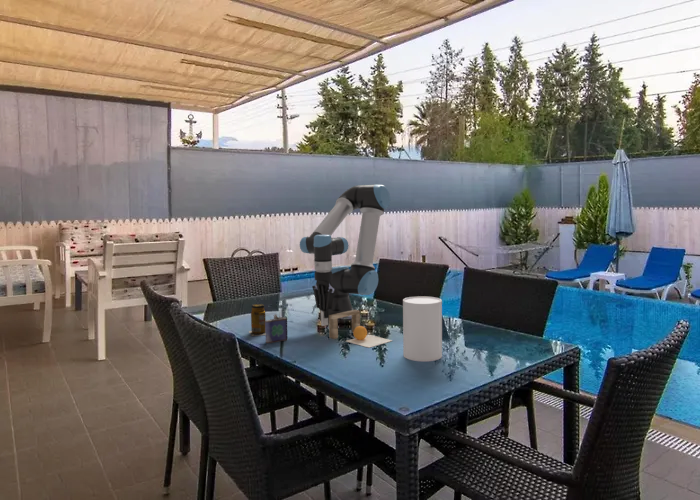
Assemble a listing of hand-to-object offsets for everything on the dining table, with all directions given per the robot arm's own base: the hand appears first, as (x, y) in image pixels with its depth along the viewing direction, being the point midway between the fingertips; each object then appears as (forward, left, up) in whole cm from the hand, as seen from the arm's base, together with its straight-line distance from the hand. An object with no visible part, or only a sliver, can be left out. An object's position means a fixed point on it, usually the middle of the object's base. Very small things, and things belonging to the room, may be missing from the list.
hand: (324, 325), depth 224 cm
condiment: (+23, -16, -2) cm, 28 cm away
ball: (+1, +23, +1) cm, 23 cm away
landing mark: (0, +27, -2) cm, 27 cm away
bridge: (0, +13, -2) cm, 13 cm away
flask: (+25, 0, -2) cm, 25 cm away
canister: (0, +54, -2) cm, 54 cm away
